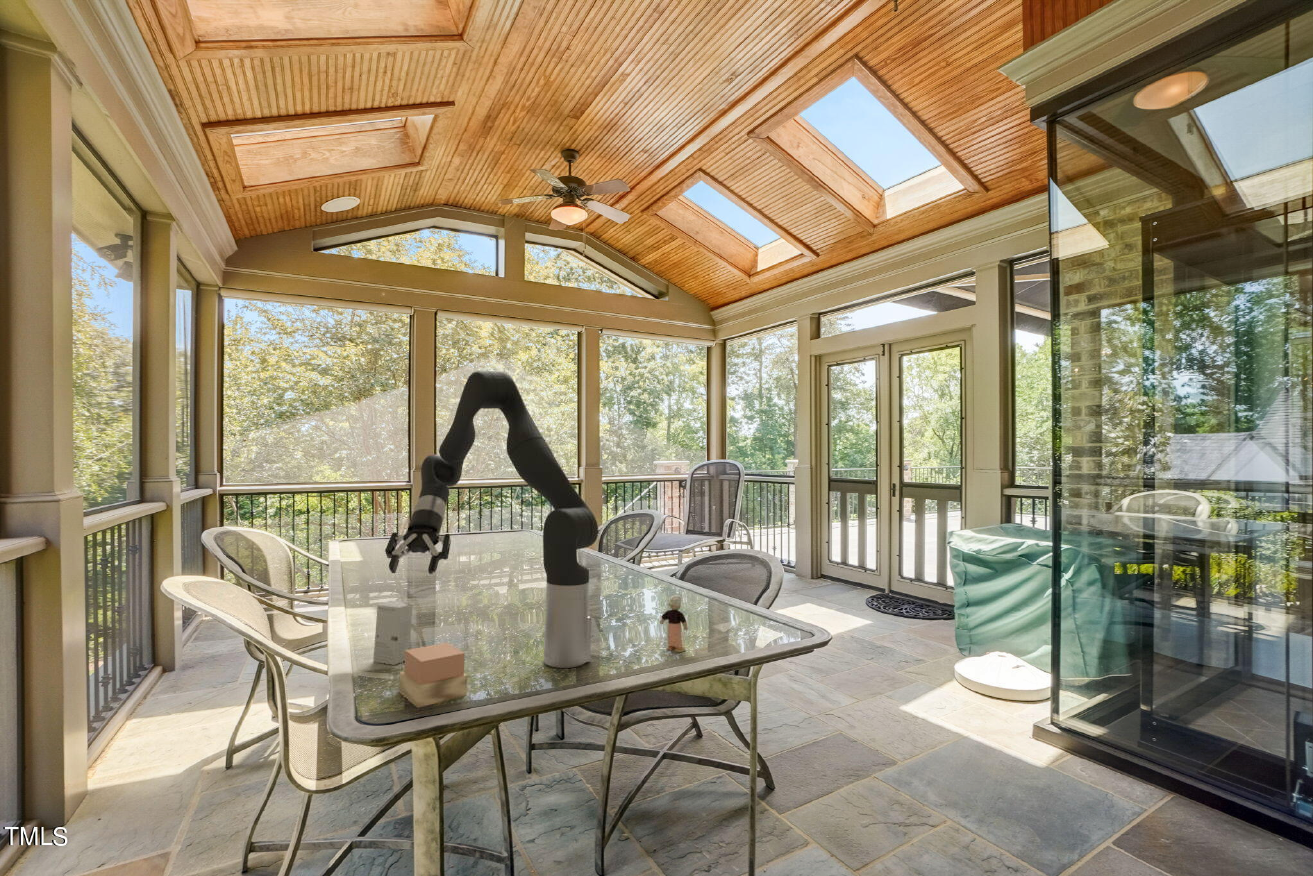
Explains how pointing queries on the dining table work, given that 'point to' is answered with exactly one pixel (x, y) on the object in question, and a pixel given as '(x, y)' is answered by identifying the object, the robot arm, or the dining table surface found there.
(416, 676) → the tower top
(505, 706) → the dining table surface
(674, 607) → the grandmother figurine
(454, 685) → the tower base
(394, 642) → the skincare box
